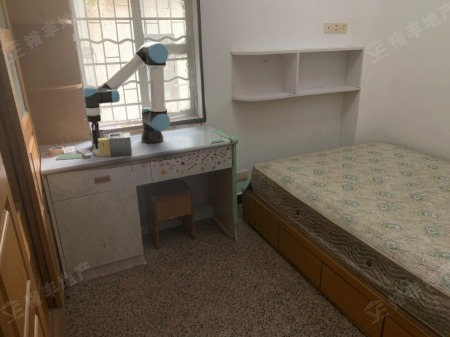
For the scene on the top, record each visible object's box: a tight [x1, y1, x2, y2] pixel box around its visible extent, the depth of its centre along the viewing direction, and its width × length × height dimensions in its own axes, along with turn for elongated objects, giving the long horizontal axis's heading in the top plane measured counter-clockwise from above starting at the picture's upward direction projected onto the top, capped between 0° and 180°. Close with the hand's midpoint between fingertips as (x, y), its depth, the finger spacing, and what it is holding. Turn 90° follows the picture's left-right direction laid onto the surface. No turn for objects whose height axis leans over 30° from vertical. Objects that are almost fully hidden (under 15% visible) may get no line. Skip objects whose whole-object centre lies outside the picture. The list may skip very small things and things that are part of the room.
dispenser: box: [107, 132, 133, 158], centre depth 218 cm, size 13×12×12 cm
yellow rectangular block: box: [95, 137, 111, 157], centre depth 216 cm, size 13×5×10 cm, turn 104°
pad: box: [55, 152, 83, 161], centre depth 213 cm, size 14×9×1 cm, turn 104°
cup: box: [90, 129, 106, 147], centre depth 233 cm, size 8×8×10 cm
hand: (98, 151), depth 216 cm, fingers open, 8 cm apart
